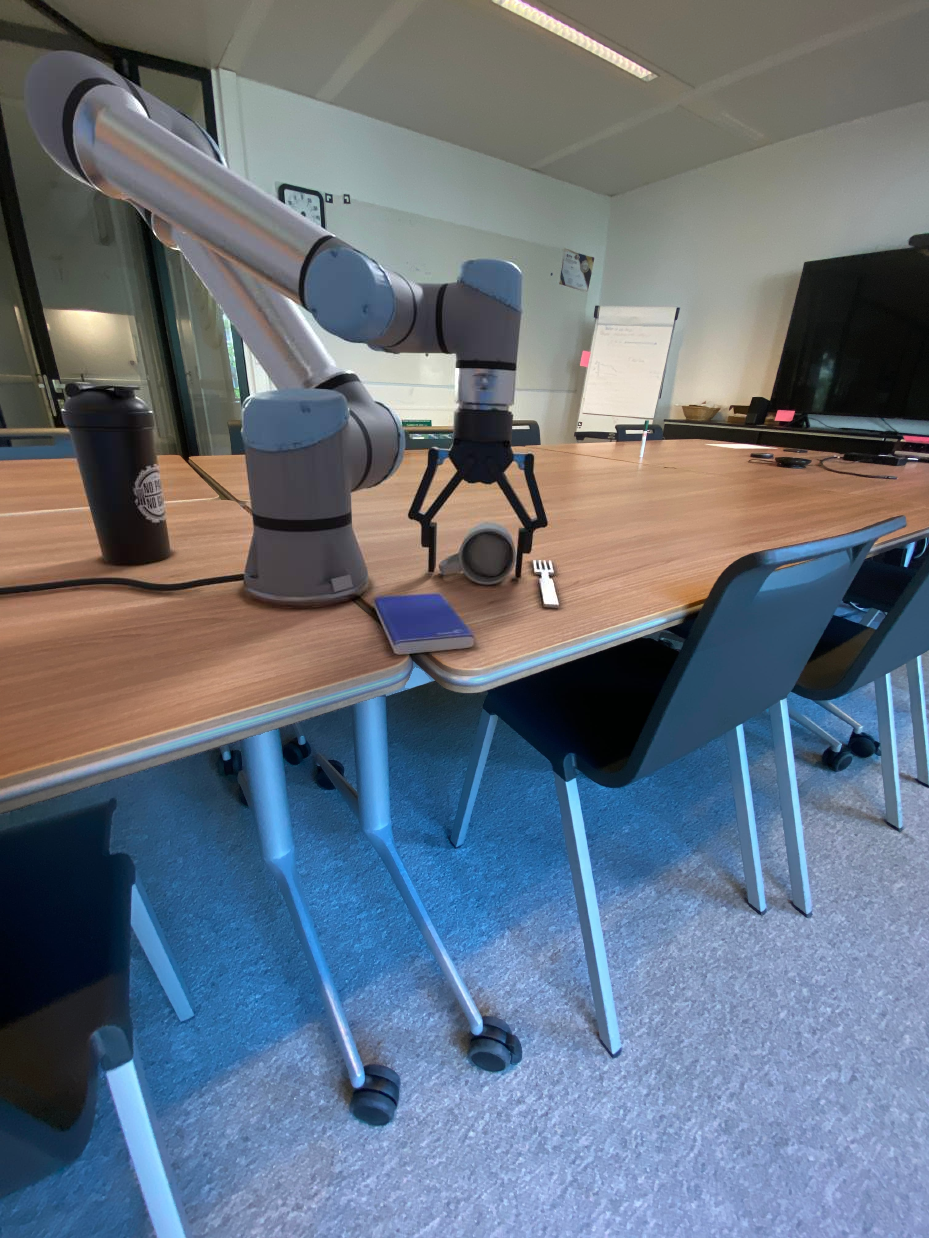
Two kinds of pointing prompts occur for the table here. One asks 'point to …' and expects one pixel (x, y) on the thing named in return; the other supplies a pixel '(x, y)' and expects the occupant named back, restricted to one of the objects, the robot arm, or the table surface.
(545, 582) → the fork
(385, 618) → the hard drive
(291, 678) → the table surface
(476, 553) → the ceramic mug
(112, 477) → the water bottle
